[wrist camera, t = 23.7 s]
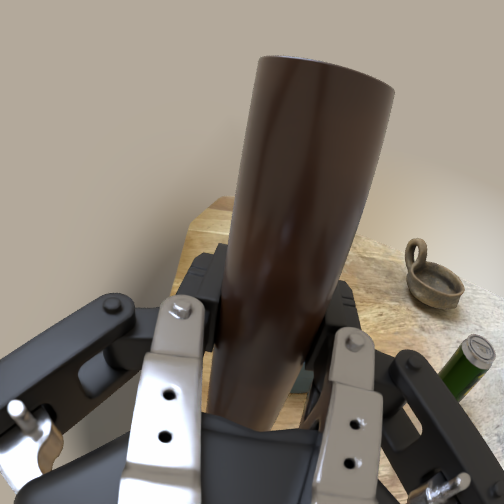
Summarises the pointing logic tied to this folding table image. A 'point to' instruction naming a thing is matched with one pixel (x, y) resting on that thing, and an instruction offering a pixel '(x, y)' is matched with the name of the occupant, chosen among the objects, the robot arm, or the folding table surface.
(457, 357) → the beer can
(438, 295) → the bowl
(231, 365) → the brown wooden rod
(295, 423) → the folding table surface
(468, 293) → the folding table surface
